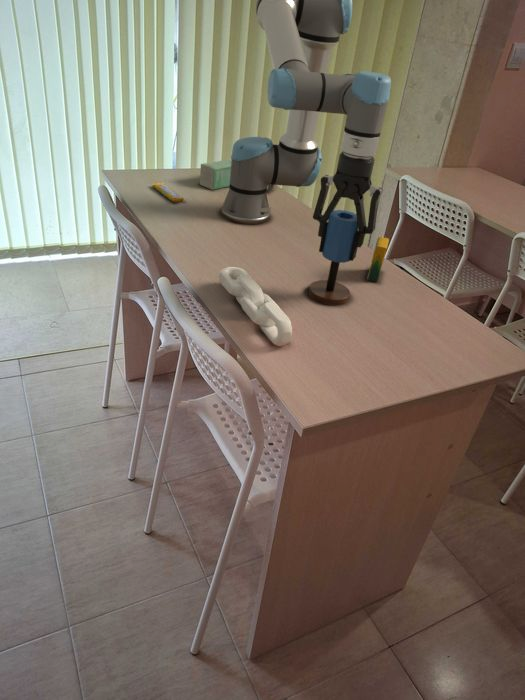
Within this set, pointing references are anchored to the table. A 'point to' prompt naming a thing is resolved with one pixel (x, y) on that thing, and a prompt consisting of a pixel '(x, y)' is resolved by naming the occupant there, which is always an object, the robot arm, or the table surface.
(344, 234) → the towel roll
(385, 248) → the crayon box
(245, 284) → the chain
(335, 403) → the table surface
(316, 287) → the stand base
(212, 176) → the box
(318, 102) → the robot arm
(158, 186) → the candy bar
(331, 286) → the stand post
